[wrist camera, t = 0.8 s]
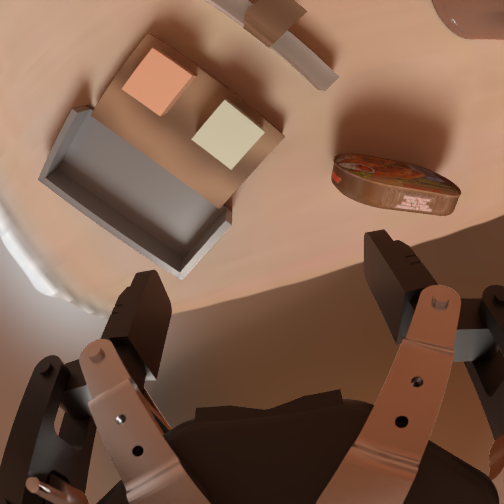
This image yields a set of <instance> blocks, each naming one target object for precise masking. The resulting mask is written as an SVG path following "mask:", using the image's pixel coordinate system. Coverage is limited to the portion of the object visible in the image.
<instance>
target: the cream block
mask: <svg viewBox="0 0 504 504" xmlns="http://www.w3.org/2000/svg"><path fill="white" fill-rule="evenodd" d="M264 133H265V131H264V130H263V128H262V127H261V126H260V125H259V124H258V123H256V122H255V121H254V120H253V119H252V118H250V117H249V116H248V115H247V114H245V113H244V112H243V111H242V110H240V109H239V108H238V107H237V106H235V105H234V104H233V103H232V102H230V101H229V100H228V99H225V100H224V101H223V102H222V103H221V104H220V105H219V107H218V108H217V109H216V110H215V111H214V112H213V114H212V115H211V116H210V117H209V118H208V119H207V121H206V122H205V123H204V124H203V126H202V127H201V128H200V129H199V130H198V132H197V133H196V134H195V135H194V137H193V138H192V139H191V140H193V141H194V142H195V143H197V144H198V145H199V146H201V147H202V148H203V149H205V150H206V151H207V152H209V153H210V154H211V155H213V156H214V157H215V158H216V159H218V160H219V161H220V162H222V163H223V164H224V165H225V166H227V167H228V168H229V169H231V170H232V169H233V167H234V166H235V165H236V164H237V163H238V162H239V161H240V160H241V158H242V157H243V156H244V155H245V154H246V153H247V152H248V151H249V149H250V148H251V147H252V146H253V145H254V144H255V143H256V142H257V141H258V140H259V138H260V137H261V136H262V135H263V134H264Z"/></svg>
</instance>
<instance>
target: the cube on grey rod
mask: <svg viewBox="0 0 504 504" xmlns="http://www.w3.org/2000/svg"><path fill="white" fill-rule="evenodd" d="M205 1H206V2H208V3H209V4H211V5H213V6H214V7H216V8H217V9H218V10H220V11H221V12H223V13H224V14H226V15H227V16H229V17H230V18H231V19H233V20H234V21H236V22H237V23H238V24H240V25H241V26H243V27H244V29H245V30H247V31H248V32H249V33H251V34H252V35H253V36H255V37H256V38H257V39H259V40H260V41H261V42H262V43H264V44H265V45H266V46H267V47H269V48H271V49H272V50H273V51H275V52H276V53H277V54H278V55H279V56H281V57H282V58H283V59H284V60H285V61H287V62H288V63H289V64H290V65H291V66H292V67H294V68H295V69H296V70H297V71H298V72H299V73H300V74H301V75H303V76H304V77H305V78H306V79H307V80H308V81H309V82H310V83H311V84H312V85H313V86H315V87H316V88H317V89H318V90H324V91H326V90H327V89H328V88H329V87H330V86H331V85H332V84H333V83H334V82H335V81H336V80H337V79H338V78H339V76H338V75H337V74H336V73H335V72H334V71H333V70H332V69H331V68H330V67H328V66H327V65H326V64H325V63H324V62H323V61H322V60H321V59H320V58H319V57H318V56H317V55H316V54H315V53H313V52H312V51H311V50H310V49H309V48H308V47H307V46H306V45H304V44H303V43H302V42H301V41H300V40H299V39H298V38H296V37H295V36H294V35H293V34H292V33H290V32H289V31H288V29H289V28H290V27H291V26H293V25H294V24H295V23H296V22H297V21H298V20H299V19H300V18H301V17H302V16H303V15H304V14H305V13H306V12H307V11H306V10H305V9H304V8H303V7H302V6H300V5H299V4H298V3H297V2H295V1H294V0H258V1H257V2H256V3H255V4H253V3H252V2H250V1H249V0H205Z"/></svg>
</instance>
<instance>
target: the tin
mask: <svg viewBox="0 0 504 504" xmlns="http://www.w3.org/2000/svg"><path fill="white" fill-rule="evenodd" d="M331 179H332V183H333V184H334V185H335V187H336V188H337V189H338V190H339V191H340V192H341V193H342V194H344V195H345V196H347V197H349V198H351V199H353V200H355V201H357V202H360V203H362V204H365V205H369V206H373V207H377V208H383V209H391V210H399V211H407V212H415V213H423V214H431V215H438V216H446V215H450V214H451V213H452V212H453V211H454V209H455V206H456V204H457V201H458V198H459V196H460V195H461V191H460V189H459V188H458V187H457V186H456V185H455V184H454V183H453V182H451V181H450V180H448V179H447V178H445V177H443V176H441V175H439V174H437V173H435V172H433V171H431V170H429V169H426V168H423V167H420V166H416V165H413V164H408V163H403V162H398V161H392V160H387V159H382V158H376V157H370V156H364V155H358V154H340V155H337V156H335V157H334V166H333V171H332V178H331Z"/></svg>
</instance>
